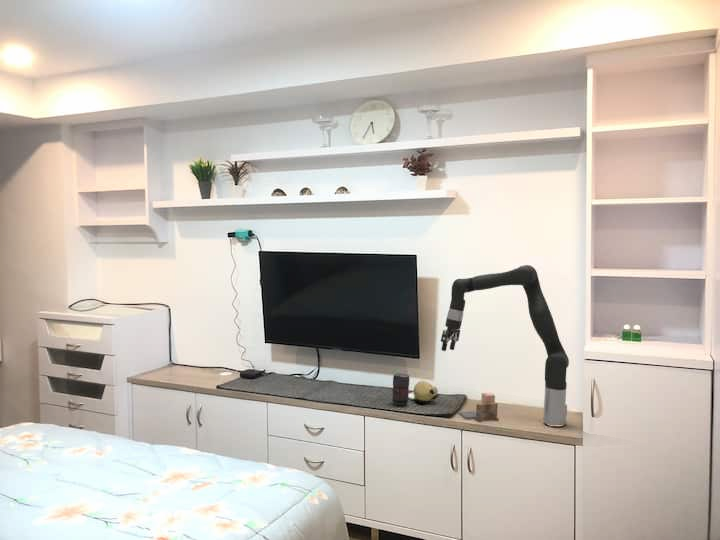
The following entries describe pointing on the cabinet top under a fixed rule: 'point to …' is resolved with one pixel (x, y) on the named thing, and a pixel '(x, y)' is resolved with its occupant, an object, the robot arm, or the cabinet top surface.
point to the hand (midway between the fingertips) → (447, 350)
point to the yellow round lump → (424, 391)
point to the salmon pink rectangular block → (487, 398)
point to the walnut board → (486, 412)
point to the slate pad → (468, 414)
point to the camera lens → (400, 389)
